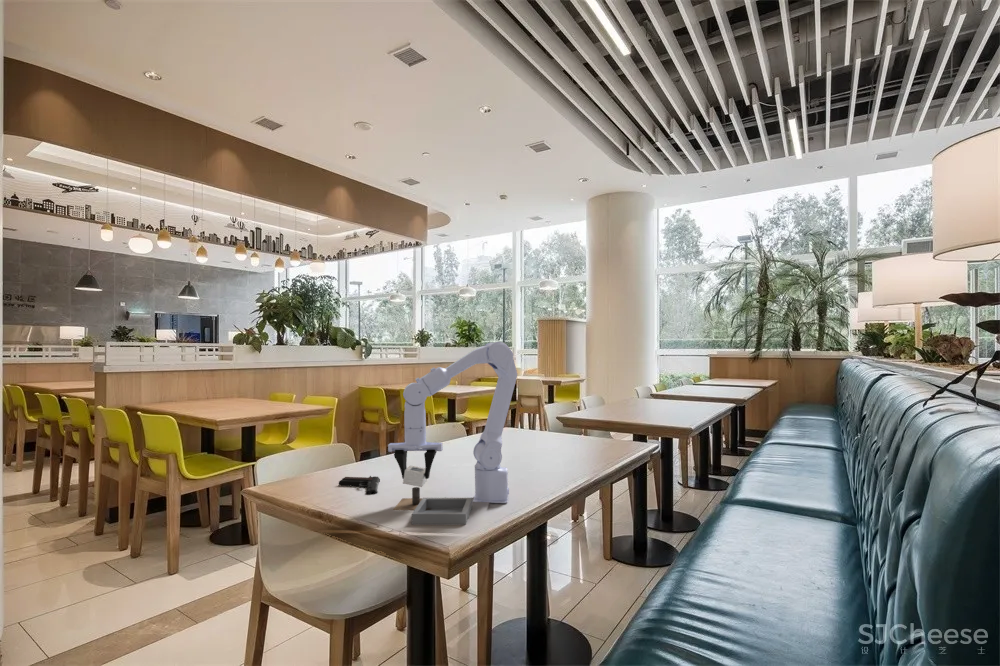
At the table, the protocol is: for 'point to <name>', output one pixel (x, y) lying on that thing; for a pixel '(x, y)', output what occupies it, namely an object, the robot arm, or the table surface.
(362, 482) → the handgun
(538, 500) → the table surface
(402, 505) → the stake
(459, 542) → the table surface
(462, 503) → the tray
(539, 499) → the table surface
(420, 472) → the collar
